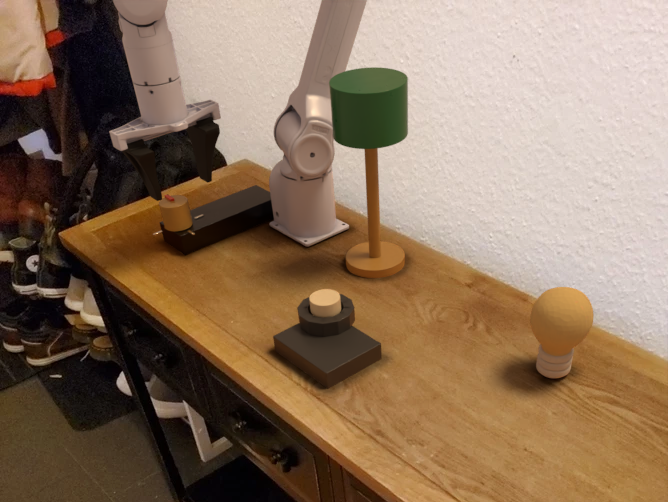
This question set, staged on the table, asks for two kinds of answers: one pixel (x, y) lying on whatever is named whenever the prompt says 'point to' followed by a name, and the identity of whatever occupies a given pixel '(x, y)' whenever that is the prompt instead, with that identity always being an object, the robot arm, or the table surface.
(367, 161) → the lamp
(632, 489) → the table surface
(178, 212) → the dimmer knob
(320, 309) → the lamp switch
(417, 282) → the table surface
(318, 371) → the switch box
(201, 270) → the table surface
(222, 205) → the dimmer
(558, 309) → the light bulb
